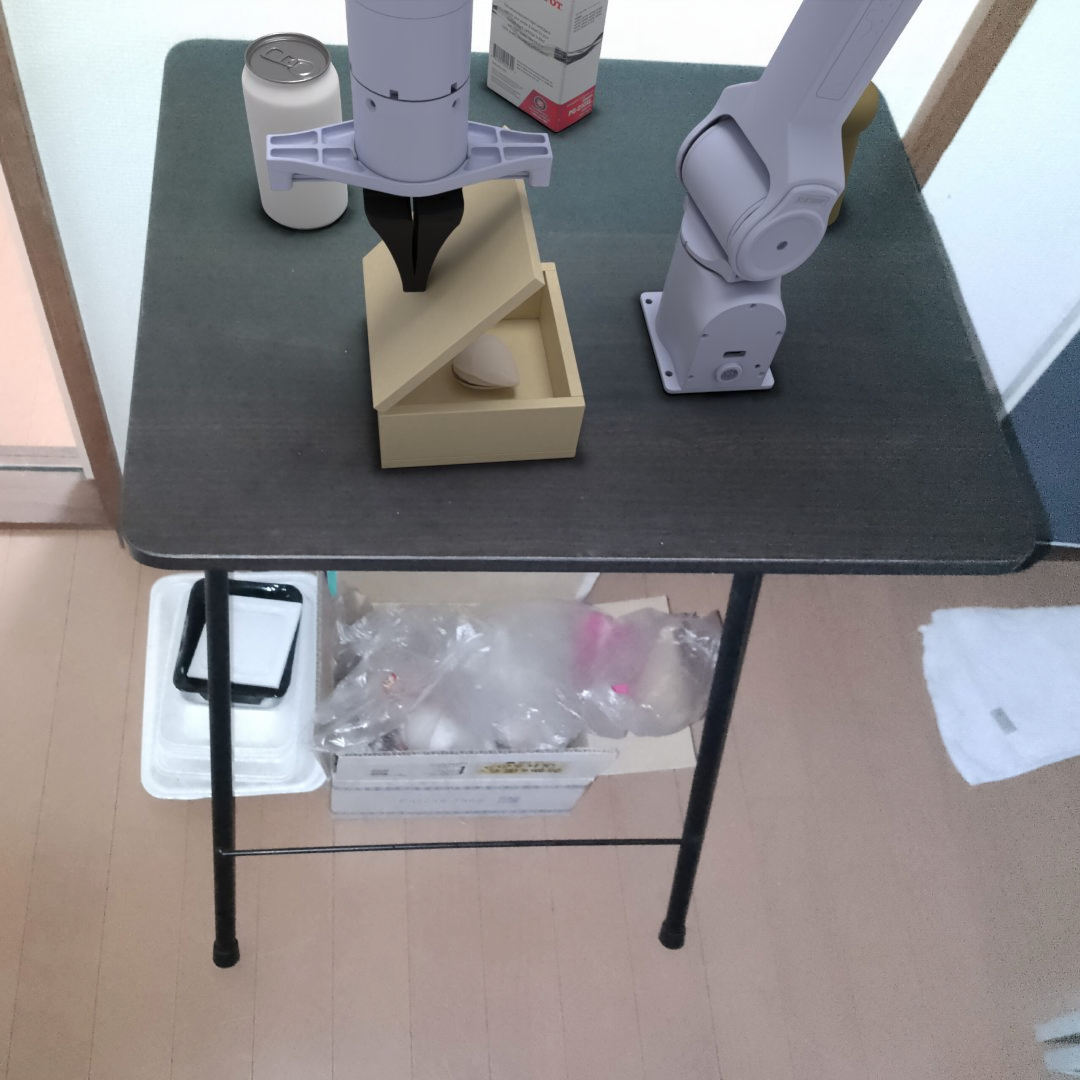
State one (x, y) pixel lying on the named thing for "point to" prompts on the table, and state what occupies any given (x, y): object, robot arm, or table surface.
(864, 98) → the cork
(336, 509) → the table surface
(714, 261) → the robot arm
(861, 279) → the table surface
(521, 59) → the ink box
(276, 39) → the can
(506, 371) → the clam shell
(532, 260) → the box lid
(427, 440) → the beige box
